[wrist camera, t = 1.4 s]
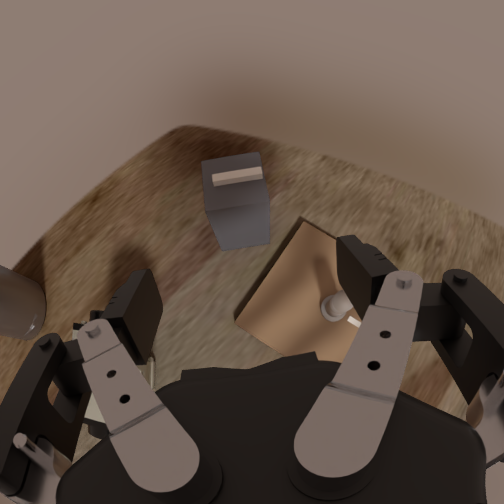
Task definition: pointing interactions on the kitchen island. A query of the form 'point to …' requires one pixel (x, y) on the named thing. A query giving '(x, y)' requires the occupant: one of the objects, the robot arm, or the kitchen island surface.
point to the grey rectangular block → (237, 200)
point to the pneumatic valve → (93, 413)
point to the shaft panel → (303, 301)
